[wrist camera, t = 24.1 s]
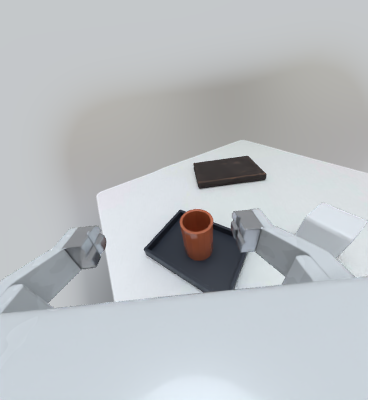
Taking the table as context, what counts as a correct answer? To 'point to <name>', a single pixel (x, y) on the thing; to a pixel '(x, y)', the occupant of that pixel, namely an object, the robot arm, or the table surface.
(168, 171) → the table surface
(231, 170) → the hardcover book
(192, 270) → the tray
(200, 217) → the cup
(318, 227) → the security camera
